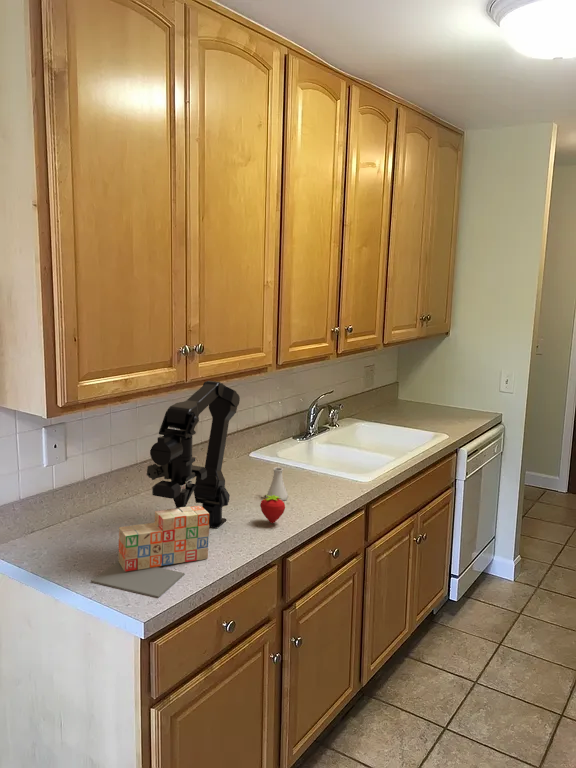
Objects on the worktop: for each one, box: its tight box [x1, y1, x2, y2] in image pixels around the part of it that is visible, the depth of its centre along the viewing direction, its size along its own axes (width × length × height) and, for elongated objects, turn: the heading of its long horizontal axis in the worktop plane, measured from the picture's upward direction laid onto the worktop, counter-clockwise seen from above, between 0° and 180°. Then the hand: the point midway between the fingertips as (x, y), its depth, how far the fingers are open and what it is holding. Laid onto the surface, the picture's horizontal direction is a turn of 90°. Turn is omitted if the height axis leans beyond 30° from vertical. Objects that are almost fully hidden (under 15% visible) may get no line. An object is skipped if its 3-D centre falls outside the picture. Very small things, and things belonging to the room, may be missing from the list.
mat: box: [90, 560, 185, 599], centre depth 153 cm, size 12×18×1 cm, turn 70°
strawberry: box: [259, 492, 286, 524], centre depth 187 cm, size 6×8×10 cm
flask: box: [265, 466, 289, 502], centre depth 208 cm, size 7×7×10 cm
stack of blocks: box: [118, 505, 210, 572], centre depth 161 cm, size 21×6×12 cm, turn 118°
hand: (180, 512), depth 168 cm, fingers closed
